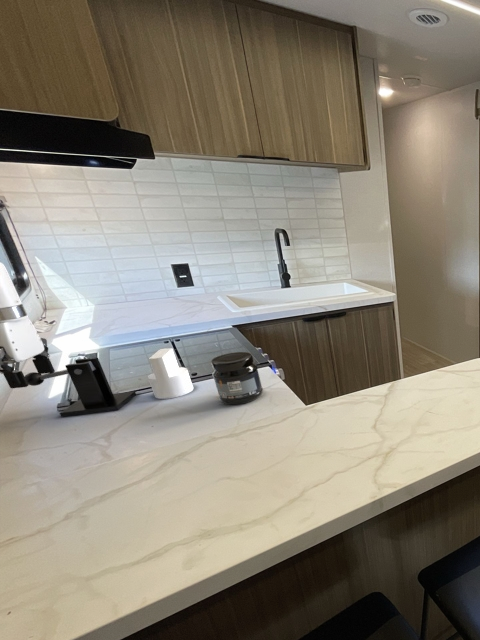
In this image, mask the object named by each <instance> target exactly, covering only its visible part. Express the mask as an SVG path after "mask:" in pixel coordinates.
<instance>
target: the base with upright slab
mask: <svg viewBox="0 0 480 640" xmlns="http://www.w3.org/2000/svg"><path fill="white" fill-rule="evenodd" d="M148 361H149V364H150V366H151V369H152V373H150V374H149V375H147V379H148V382H149V384H150V387H151V390H152V392H153V395H154V397H155V398H156V399H159V400H166V399H174V398H178V397H181V396H185V395H187V394H189V393H191V392H192V391H193V390H194V385H193V382H192V379H191V377H190V373H189V370H188V368H187V367H182V366H181V367H180V366H179V364H178V361H177V357H176V355H175V352H174V348H173V347H169V348H160V349H159V350H157V351H156V352H155V353H153V354H152V355H151V356H150V357H148Z"/></svg>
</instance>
